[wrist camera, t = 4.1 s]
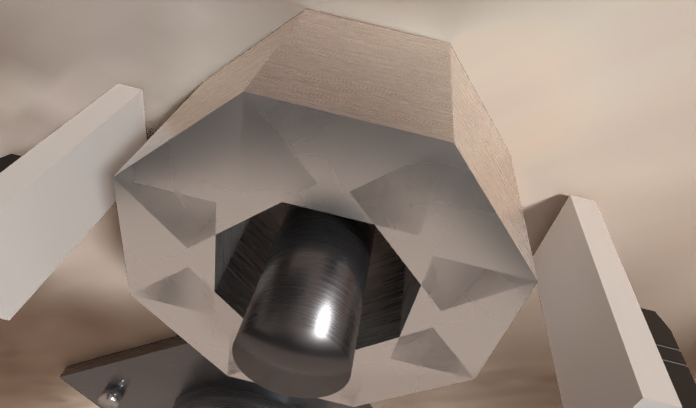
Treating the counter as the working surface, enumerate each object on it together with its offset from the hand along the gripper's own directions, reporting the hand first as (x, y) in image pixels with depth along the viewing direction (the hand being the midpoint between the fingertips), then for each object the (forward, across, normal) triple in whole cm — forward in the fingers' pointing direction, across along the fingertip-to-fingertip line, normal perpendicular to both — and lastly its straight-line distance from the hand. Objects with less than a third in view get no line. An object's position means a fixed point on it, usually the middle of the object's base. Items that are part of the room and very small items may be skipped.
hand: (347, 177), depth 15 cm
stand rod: (0, 0, 0) cm, 0 cm away
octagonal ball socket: (0, 0, 0) cm, 0 cm away
